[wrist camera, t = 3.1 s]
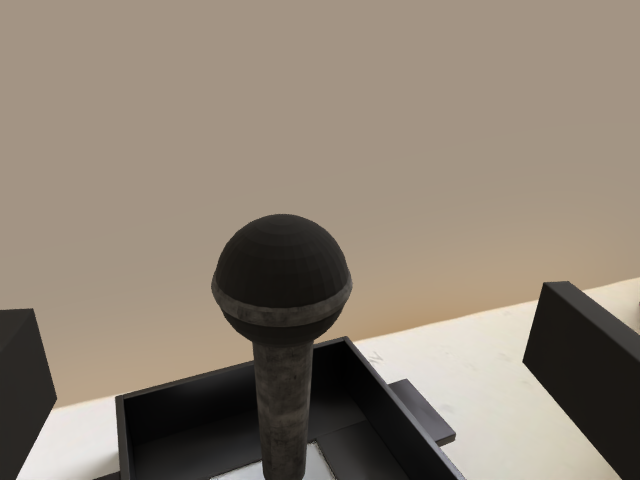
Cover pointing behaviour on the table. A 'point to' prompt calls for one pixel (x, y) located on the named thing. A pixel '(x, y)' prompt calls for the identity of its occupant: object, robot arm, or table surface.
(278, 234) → the microphone
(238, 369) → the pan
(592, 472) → the table surface
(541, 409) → the table surface
